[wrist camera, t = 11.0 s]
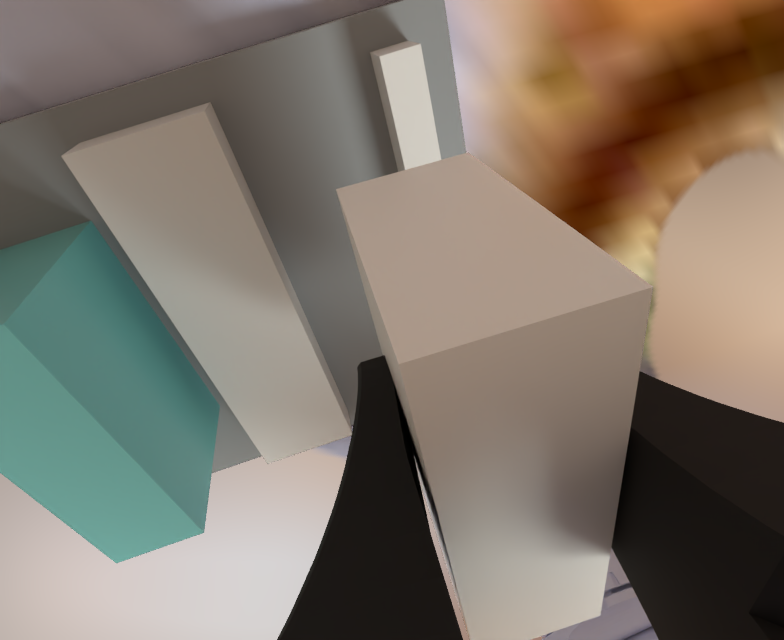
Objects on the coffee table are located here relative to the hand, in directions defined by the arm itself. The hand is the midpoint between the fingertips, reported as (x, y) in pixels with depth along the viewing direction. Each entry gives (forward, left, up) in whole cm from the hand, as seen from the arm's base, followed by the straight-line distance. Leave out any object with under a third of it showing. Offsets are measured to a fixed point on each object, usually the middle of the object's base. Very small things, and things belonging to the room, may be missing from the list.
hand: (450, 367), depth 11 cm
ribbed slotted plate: (-1, +6, -8) cm, 10 cm away
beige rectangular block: (0, 0, -2) cm, 2 cm away
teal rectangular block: (0, +11, -8) cm, 13 cm away
